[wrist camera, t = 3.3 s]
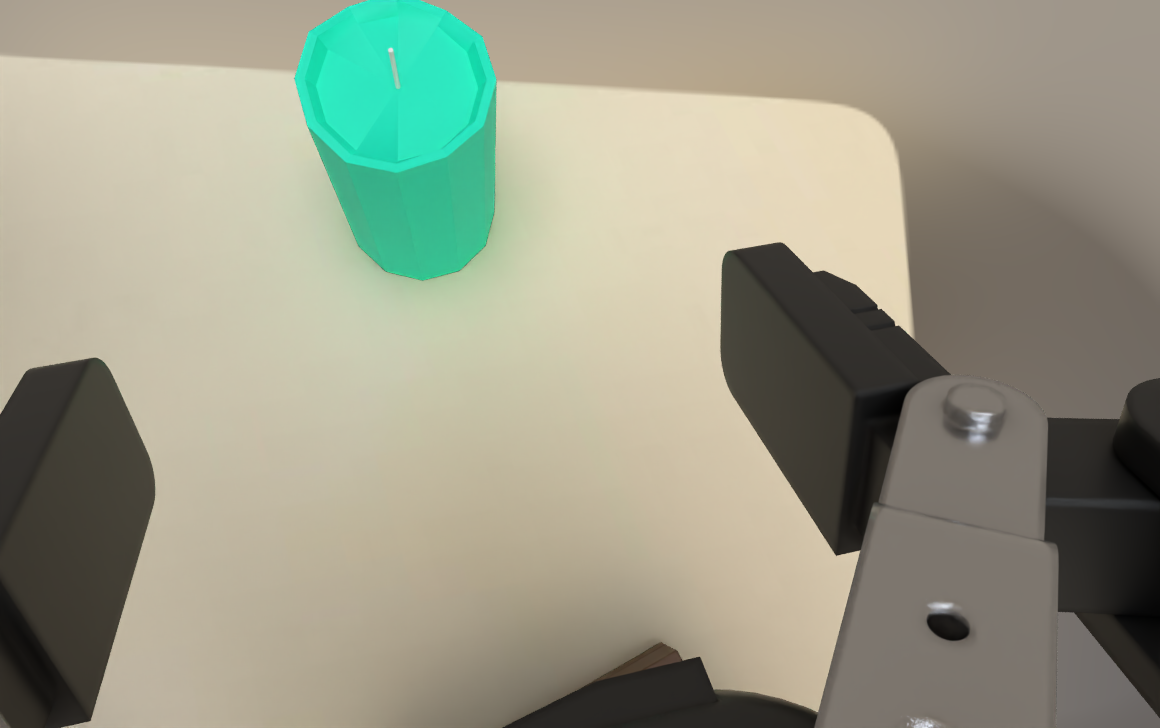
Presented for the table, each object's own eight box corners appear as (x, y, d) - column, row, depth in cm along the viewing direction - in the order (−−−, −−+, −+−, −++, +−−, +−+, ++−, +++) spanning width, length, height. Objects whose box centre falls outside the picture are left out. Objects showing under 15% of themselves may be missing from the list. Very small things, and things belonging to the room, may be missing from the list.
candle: (520, 236, 36) (536, 87, 25) (395, 306, 35) (349, 184, 24) (448, 122, 37) (429, -75, 25) (322, 187, 36) (242, 11, 24)
